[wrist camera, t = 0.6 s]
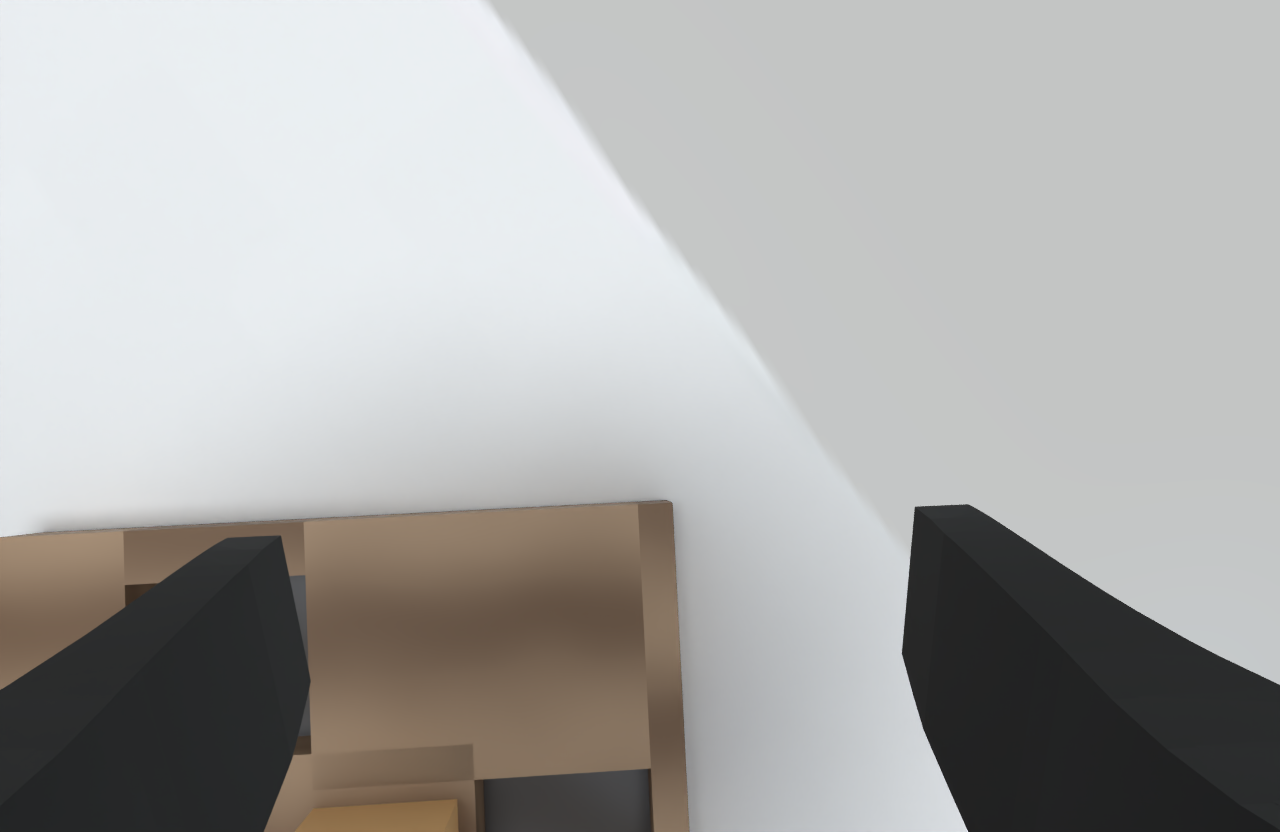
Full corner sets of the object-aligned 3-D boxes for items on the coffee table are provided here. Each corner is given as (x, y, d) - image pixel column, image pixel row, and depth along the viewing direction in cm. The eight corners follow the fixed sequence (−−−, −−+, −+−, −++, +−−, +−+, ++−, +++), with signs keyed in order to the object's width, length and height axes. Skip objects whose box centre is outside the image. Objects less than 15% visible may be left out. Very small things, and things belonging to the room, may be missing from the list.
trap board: (689, 958, 32) (697, 999, 29) (52, 1005, 31) (5, 1052, 28) (666, 500, 33) (672, 502, 30) (42, 532, 32) (-5, 538, 29)
